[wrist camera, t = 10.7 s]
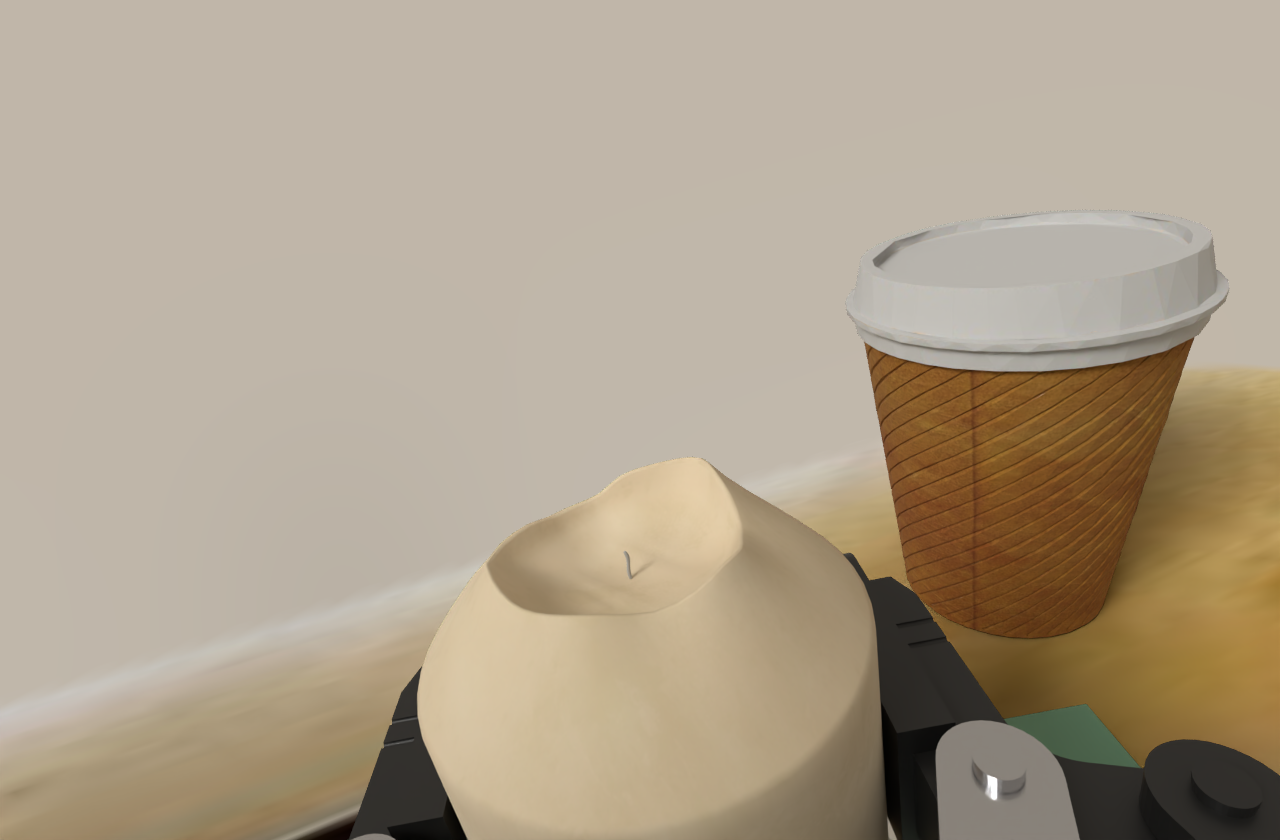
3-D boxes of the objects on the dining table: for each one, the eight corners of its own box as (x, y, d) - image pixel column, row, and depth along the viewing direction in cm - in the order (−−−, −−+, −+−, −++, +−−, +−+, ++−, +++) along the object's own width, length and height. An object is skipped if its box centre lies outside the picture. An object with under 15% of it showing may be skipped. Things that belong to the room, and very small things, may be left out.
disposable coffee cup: (981, 478, 29) (991, 203, 24) (1235, 592, 21) (1328, 212, 16) (809, 562, 26) (780, 268, 21) (1027, 733, 18) (1062, 320, 13)
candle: (710, 790, 15) (624, 392, 11) (957, 972, 11) (961, 459, 7) (516, 1018, 12) (295, 569, 8) (773, 1386, 8) (593, 866, 4)
